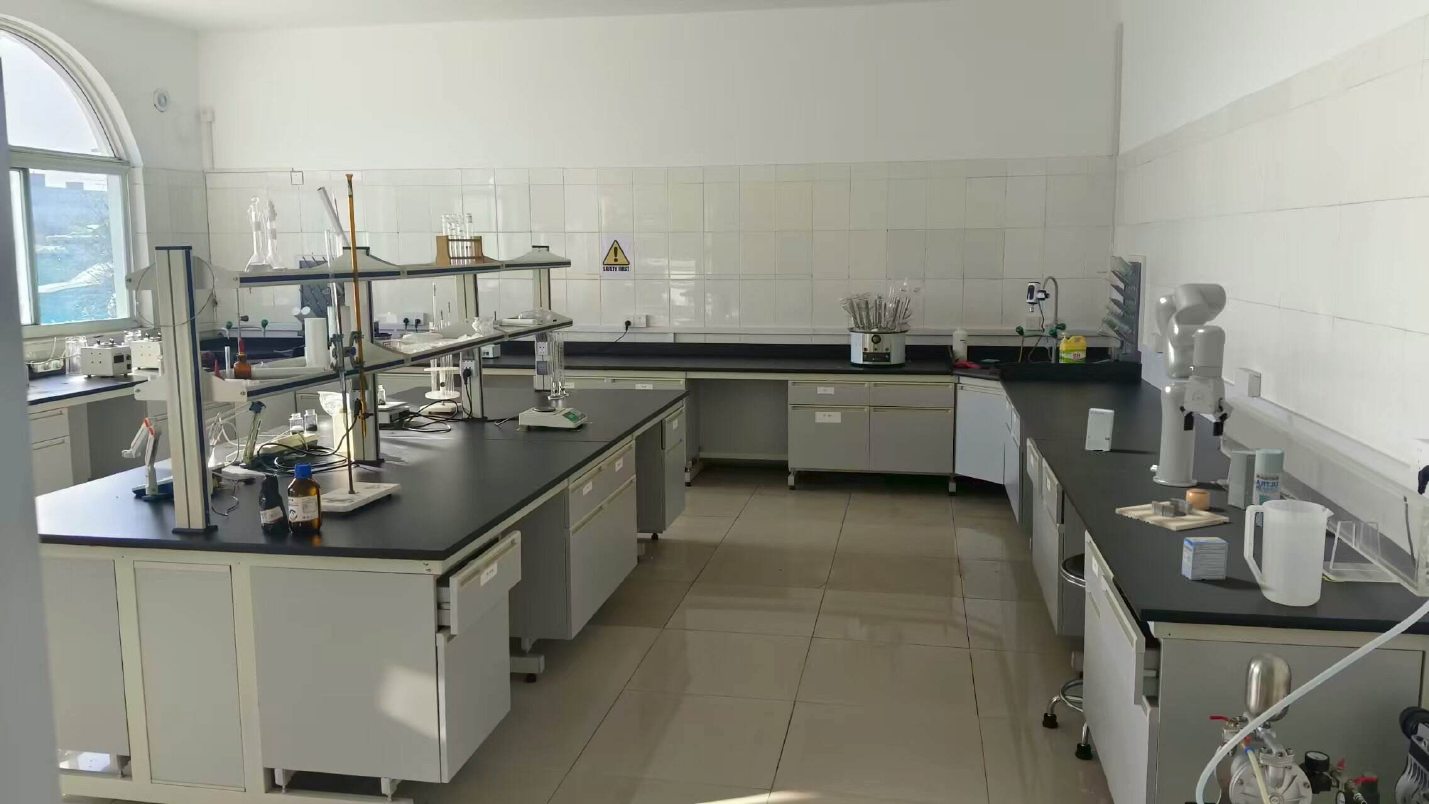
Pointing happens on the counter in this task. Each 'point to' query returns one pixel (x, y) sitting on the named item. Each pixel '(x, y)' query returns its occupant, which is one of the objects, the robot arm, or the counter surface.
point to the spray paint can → (1267, 477)
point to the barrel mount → (1172, 515)
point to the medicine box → (1204, 558)
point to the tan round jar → (1198, 498)
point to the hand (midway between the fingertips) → (1202, 432)
